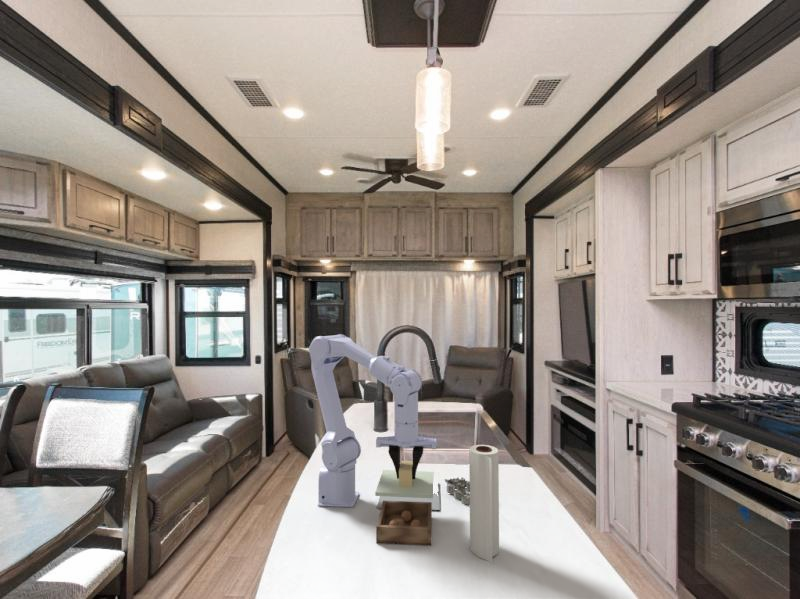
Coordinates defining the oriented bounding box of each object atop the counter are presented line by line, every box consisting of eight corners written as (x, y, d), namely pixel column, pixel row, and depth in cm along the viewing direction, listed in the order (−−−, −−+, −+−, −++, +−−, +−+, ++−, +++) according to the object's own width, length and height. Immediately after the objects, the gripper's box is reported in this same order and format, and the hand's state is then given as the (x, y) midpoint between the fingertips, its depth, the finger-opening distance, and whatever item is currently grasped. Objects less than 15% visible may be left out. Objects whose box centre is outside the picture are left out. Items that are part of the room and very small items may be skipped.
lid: (375, 495, 93) (375, 475, 93) (383, 473, 106) (383, 455, 106) (432, 498, 91) (432, 477, 91) (433, 475, 104) (433, 456, 104)
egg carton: (487, 503, 108) (487, 487, 108) (463, 509, 105) (463, 493, 105) (465, 486, 117) (465, 472, 117) (442, 491, 114) (442, 476, 114)
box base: (376, 543, 89) (376, 526, 89) (383, 515, 101) (383, 500, 101) (431, 545, 88) (431, 529, 88) (431, 517, 100) (431, 502, 100)
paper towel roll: (475, 538, 91) (475, 441, 91) (502, 546, 88) (502, 446, 88) (463, 555, 84) (463, 451, 85) (492, 565, 81) (491, 457, 82)
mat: (376, 508, 104) (376, 507, 104) (384, 482, 120) (384, 480, 120) (439, 511, 103) (439, 509, 103) (438, 483, 119) (438, 482, 119)
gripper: (374, 424, 96) (374, 483, 95) (436, 426, 94) (436, 485, 94) (378, 416, 103) (378, 470, 102) (436, 418, 101) (436, 473, 101)
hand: (406, 477), depth 99 cm, fingers closed on lid, 3 cm apart
